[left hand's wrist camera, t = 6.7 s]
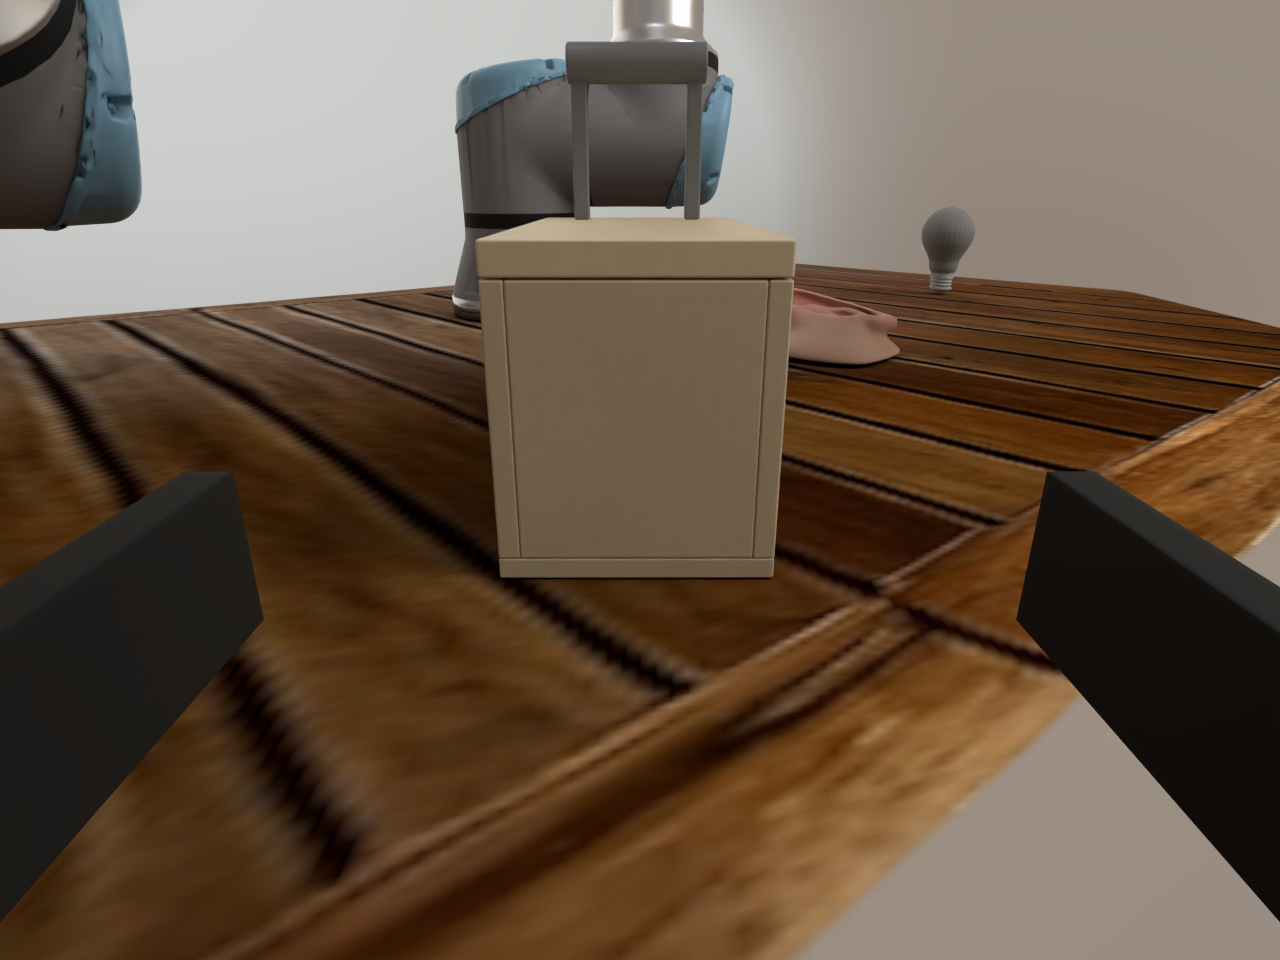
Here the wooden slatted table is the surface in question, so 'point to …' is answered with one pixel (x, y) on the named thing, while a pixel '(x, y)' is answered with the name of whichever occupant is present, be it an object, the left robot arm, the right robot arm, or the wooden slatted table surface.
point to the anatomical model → (838, 331)
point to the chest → (636, 424)
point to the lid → (636, 241)
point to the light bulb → (946, 244)
